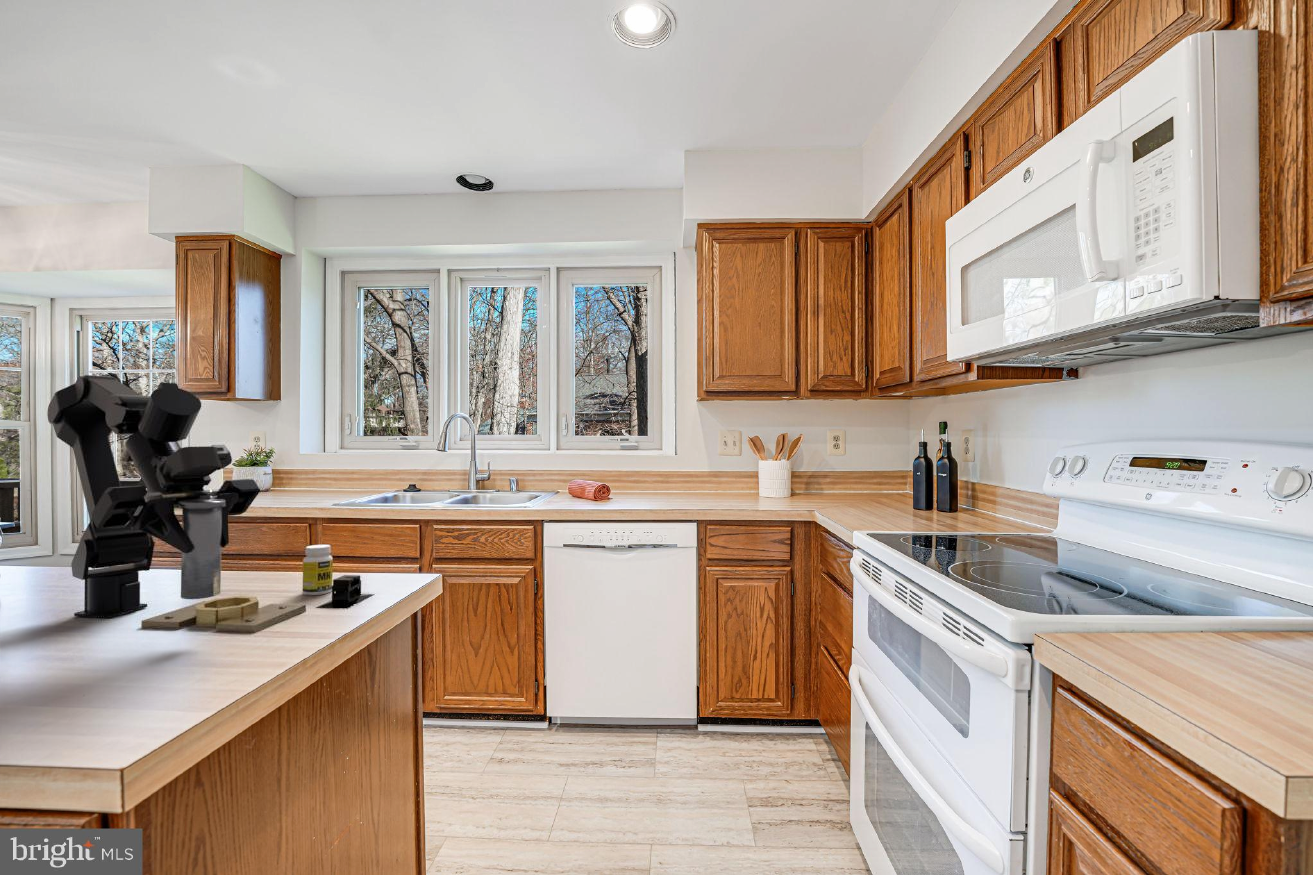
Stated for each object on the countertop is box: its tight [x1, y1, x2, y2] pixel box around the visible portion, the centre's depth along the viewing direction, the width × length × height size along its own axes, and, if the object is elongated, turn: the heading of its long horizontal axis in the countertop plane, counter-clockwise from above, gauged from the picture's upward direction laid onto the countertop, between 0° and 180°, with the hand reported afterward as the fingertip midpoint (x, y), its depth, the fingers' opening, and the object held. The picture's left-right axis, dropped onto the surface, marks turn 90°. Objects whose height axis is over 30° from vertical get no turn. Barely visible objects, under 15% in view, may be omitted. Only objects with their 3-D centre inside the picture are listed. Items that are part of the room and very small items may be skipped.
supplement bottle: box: [302, 544, 334, 596], centre depth 112 cm, size 5×5×8 cm
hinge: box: [140, 595, 307, 633], centre depth 95 cm, size 18×11×2 cm, turn 84°
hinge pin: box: [179, 499, 226, 600], centre depth 85 cm, size 5×5×13 cm
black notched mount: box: [315, 574, 375, 610], centre depth 106 cm, size 12×7×5 cm, turn 178°
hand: (207, 548), depth 85 cm, fingers closed on hinge pin, 4 cm apart
